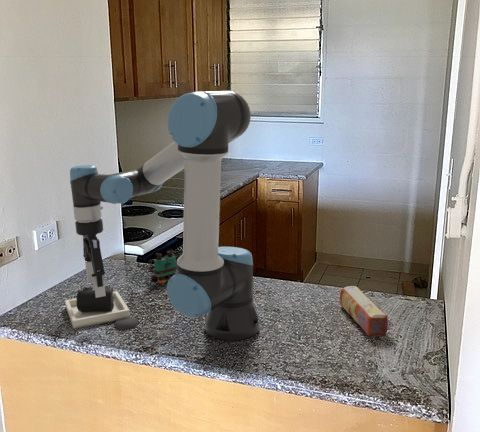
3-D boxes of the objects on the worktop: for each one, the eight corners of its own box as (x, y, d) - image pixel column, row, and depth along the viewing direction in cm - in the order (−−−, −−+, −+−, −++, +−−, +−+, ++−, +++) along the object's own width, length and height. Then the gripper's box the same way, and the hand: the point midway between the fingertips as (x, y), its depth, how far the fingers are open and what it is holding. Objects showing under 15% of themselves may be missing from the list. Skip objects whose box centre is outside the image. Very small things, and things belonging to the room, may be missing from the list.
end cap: (77, 316, 154) (75, 295, 152) (82, 306, 161) (80, 285, 159) (112, 314, 154) (110, 293, 153) (115, 305, 161) (114, 284, 160)
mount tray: (129, 317, 154) (129, 310, 153) (73, 328, 147) (72, 321, 147) (117, 298, 168) (117, 291, 167) (65, 307, 161) (65, 300, 161)
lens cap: (140, 327, 148) (140, 324, 148) (117, 332, 146) (117, 329, 145) (134, 319, 154) (134, 315, 154) (112, 323, 151) (112, 320, 151)
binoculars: (163, 246, 189) (178, 249, 181) (166, 274, 190) (181, 279, 183) (141, 251, 183) (156, 255, 175) (145, 280, 185) (159, 285, 177)
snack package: (389, 336, 140) (391, 313, 139) (366, 339, 139) (367, 315, 138) (358, 304, 161) (359, 284, 159) (338, 306, 160) (338, 285, 158)
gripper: (110, 226, 141) (118, 300, 146) (94, 209, 163) (101, 274, 168) (82, 230, 138) (90, 306, 143) (69, 212, 160) (76, 278, 165)
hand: (96, 288), depth 155 cm, fingers open, 13 cm apart
